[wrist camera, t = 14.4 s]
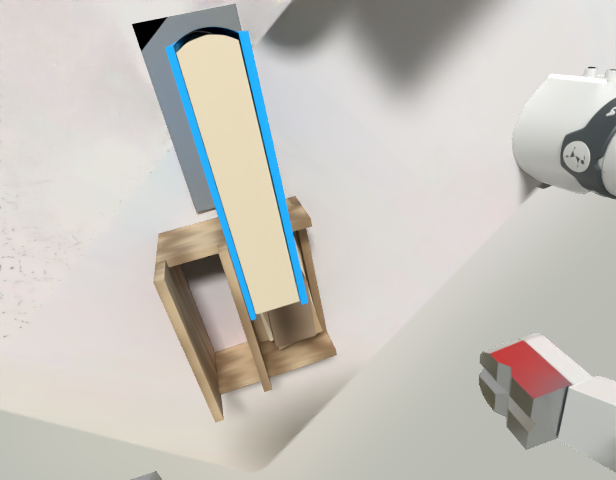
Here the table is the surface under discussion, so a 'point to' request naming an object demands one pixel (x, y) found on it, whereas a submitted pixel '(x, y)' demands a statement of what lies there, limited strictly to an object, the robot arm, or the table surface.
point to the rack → (259, 349)
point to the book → (239, 163)
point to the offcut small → (292, 321)
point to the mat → (152, 46)
